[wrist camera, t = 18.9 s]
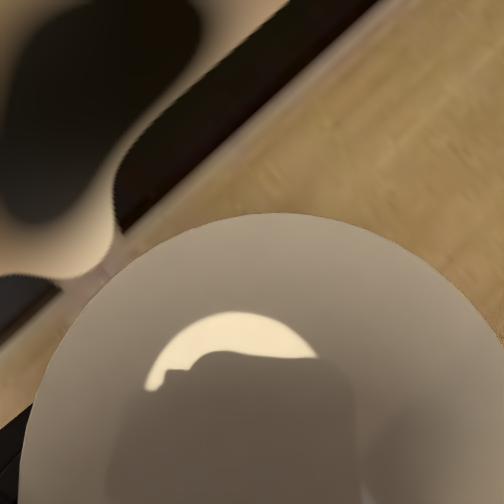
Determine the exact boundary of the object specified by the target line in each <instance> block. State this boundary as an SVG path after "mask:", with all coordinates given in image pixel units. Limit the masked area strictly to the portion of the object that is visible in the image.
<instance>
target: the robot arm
mask: <svg viewBox="0 0 504 504" xmlns="http://www.w3.org/2000/svg"><path fill="white" fill-rule="evenodd" d="M33 403H34V402H33ZM33 403H32V404H31V405H30V406H29V407H27V408H26V409H25V410H24V411H23V412H21V413H20V414H19V415H18V416H17V417H15V418H14V419H13V420H12V421H10V422H9V423H8V424H7V425H6V426H4V427H3V428H2V429H1V430H0V504H18V486H19V469H20V460H21V454H22V448H23V443H24V437H25V431H26V426H27V423H28V420H29V416H30V413H31V410H32V406H33Z"/></svg>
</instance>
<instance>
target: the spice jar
mask: <svg viewBox="0 0 504 504" xmlns="http://www.w3.org/2000/svg"><path fill="white" fill-rule="evenodd" d="M18 504H504V347H503V346H502V344H501V342H500V341H499V339H498V338H497V336H496V334H495V333H494V331H493V330H492V328H491V327H490V326H489V325H488V323H487V322H486V321H485V320H484V318H483V317H482V316H481V314H480V313H479V312H478V311H477V309H476V308H475V307H474V306H473V304H472V303H471V302H470V301H469V300H468V299H467V298H466V297H465V296H464V295H463V294H462V293H461V292H460V291H459V290H458V289H457V288H456V287H455V286H454V285H453V284H452V283H451V282H450V281H449V280H448V279H447V278H445V277H444V276H443V275H442V274H440V273H439V272H438V271H437V270H435V269H434V268H433V267H432V266H430V265H429V264H428V263H427V262H425V261H424V260H423V259H421V258H420V257H418V256H416V255H415V254H413V253H411V252H410V251H408V250H407V249H405V248H403V247H402V246H400V245H398V244H397V243H395V242H393V241H391V240H389V239H387V238H385V237H382V236H380V235H378V234H376V233H374V232H372V231H369V230H367V229H365V228H361V227H358V226H355V225H352V224H349V223H346V222H343V221H339V220H336V219H331V218H325V217H320V216H315V215H309V214H297V213H280V212H274V213H259V214H246V215H241V216H236V217H231V218H225V219H220V220H216V221H213V222H210V223H207V224H204V225H201V226H198V227H195V228H192V229H189V230H187V231H185V232H182V233H180V234H178V235H176V236H174V237H172V238H170V239H168V240H166V241H163V242H161V243H160V244H158V245H157V246H155V247H153V248H152V249H150V250H149V251H147V252H146V253H144V254H142V255H141V256H139V257H138V258H136V259H135V260H134V261H132V262H131V263H130V264H129V265H127V266H126V267H125V268H124V269H123V270H121V271H120V272H119V273H118V274H117V275H115V276H114V277H113V278H112V279H111V280H110V281H109V282H108V283H107V284H106V285H105V286H104V287H103V288H102V289H101V290H100V291H99V292H98V293H97V294H96V295H95V296H94V297H93V298H92V299H91V301H90V302H89V303H88V304H87V305H86V306H85V308H84V309H83V311H82V312H81V313H80V315H79V316H78V317H77V319H76V320H75V321H74V323H73V324H72V325H71V327H70V328H69V329H68V331H67V332H66V334H65V336H64V338H63V339H62V341H61V343H60V345H59V346H58V348H57V350H56V351H55V353H54V355H53V357H52V358H51V360H50V362H49V365H48V367H47V369H46V372H45V374H44V376H43V379H42V381H41V383H40V386H39V388H38V390H37V393H36V396H35V399H34V403H33V406H32V410H31V413H30V416H29V420H28V423H27V426H26V431H25V437H24V443H23V448H22V454H21V460H20V469H19V486H18Z"/></svg>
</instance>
